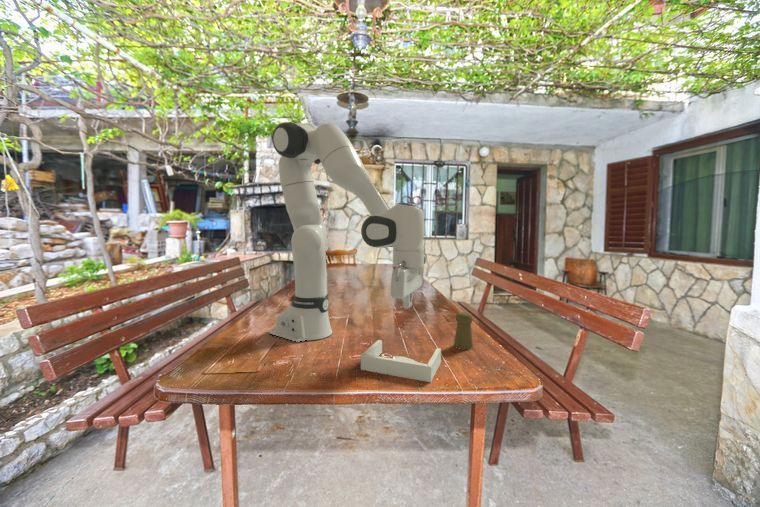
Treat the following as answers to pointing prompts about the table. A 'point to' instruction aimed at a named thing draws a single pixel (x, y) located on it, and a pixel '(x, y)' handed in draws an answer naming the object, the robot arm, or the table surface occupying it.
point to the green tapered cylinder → (463, 331)
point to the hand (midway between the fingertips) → (407, 307)
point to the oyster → (404, 359)
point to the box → (399, 364)
